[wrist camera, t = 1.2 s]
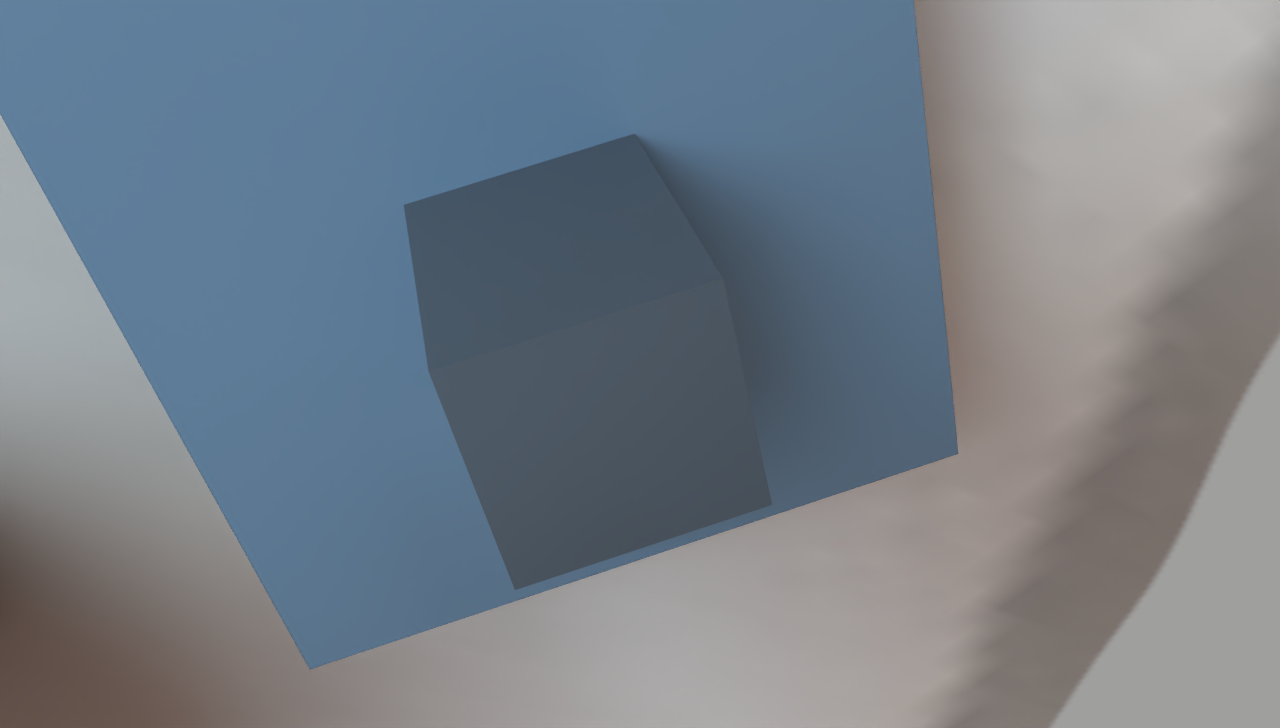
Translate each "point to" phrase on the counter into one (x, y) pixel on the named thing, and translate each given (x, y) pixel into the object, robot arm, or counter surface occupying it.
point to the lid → (498, 272)
